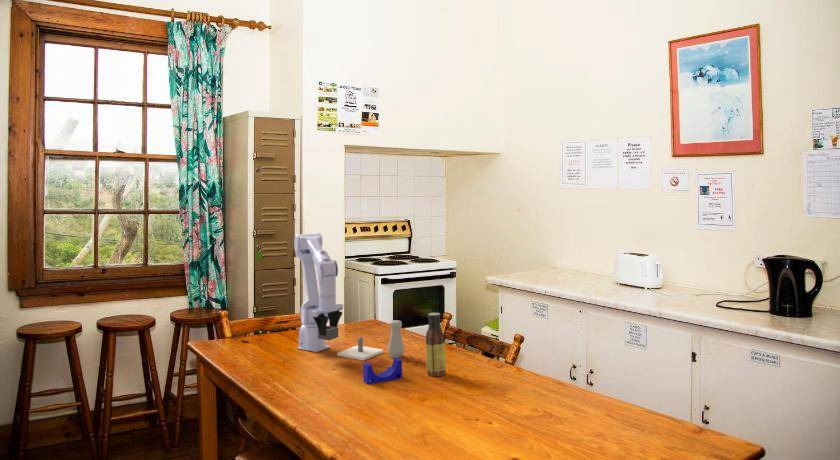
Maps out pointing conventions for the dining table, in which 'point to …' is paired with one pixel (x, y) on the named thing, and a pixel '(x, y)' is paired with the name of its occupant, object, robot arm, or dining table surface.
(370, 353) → the peg base
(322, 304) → the robot arm
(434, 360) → the sauce bottle
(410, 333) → the dining table surface
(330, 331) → the square frame block
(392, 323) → the salt shaker
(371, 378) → the blue cradle stand
